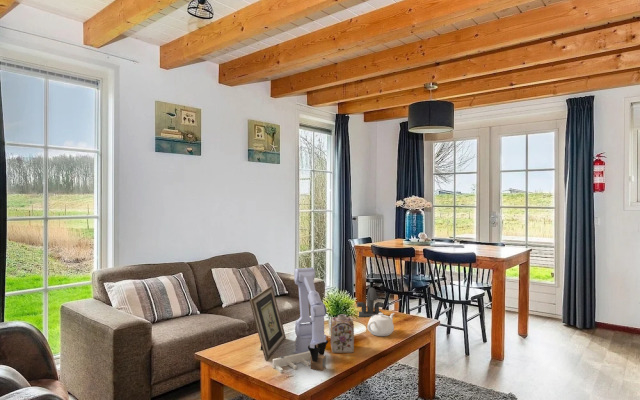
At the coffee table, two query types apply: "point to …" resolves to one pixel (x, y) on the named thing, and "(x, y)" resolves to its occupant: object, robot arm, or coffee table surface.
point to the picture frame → (268, 321)
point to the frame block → (319, 363)
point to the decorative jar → (342, 334)
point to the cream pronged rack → (291, 360)
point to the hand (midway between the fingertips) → (318, 358)
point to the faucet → (370, 304)
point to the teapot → (381, 325)
